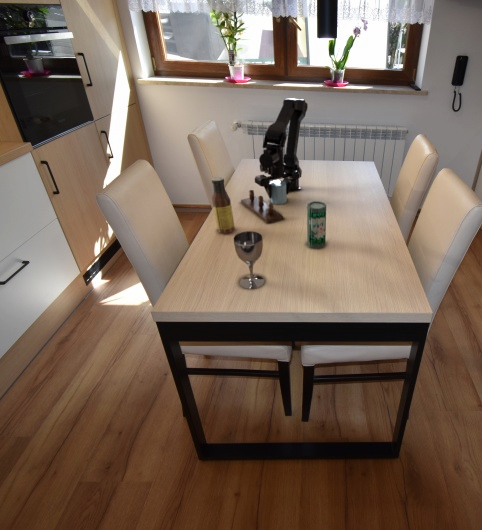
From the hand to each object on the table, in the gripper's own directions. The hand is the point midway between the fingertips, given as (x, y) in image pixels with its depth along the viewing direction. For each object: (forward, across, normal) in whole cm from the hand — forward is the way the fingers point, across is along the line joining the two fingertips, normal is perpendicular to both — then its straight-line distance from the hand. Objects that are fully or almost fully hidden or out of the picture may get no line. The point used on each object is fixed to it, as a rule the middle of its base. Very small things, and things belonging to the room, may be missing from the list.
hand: (278, 196), depth 166 cm
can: (+2, +8, +40) cm, 41 cm away
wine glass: (+2, +37, +48) cm, 61 cm away
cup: (+2, 0, 0) cm, 2 cm away
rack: (+2, +11, +5) cm, 12 cm away
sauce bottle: (+2, +30, +13) cm, 33 cm away
